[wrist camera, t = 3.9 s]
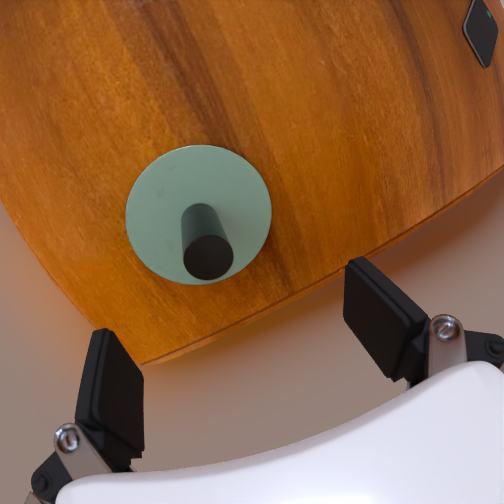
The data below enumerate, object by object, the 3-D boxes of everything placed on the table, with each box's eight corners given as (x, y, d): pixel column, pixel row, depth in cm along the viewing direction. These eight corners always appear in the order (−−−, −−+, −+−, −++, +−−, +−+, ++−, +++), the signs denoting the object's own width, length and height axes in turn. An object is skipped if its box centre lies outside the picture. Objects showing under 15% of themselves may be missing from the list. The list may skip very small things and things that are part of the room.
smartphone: (499, 28, 15) (488, 71, 19) (495, 28, 16) (484, 71, 20) (478, -8, 12) (465, 29, 16) (474, -7, 13) (460, 29, 16)
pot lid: (154, 292, 23) (152, 351, 17) (109, 169, 17) (77, 193, 11) (275, 257, 24) (309, 305, 18) (255, 130, 19) (292, 135, 13)
